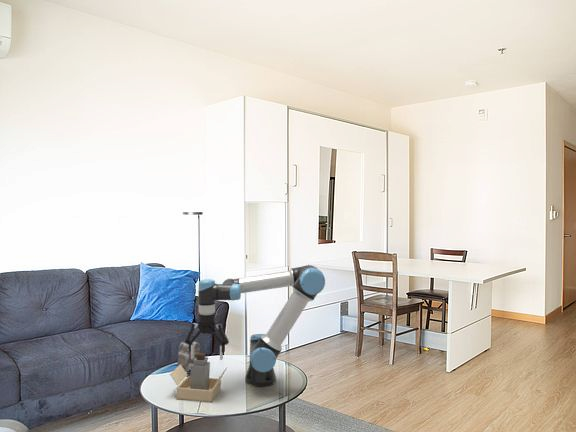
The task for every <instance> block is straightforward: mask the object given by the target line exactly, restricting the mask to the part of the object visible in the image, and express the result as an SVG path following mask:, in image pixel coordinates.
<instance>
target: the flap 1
mask: <svg viewBox="0 0 576 432" xmlns="http://www.w3.org/2000/svg"><path fill="white" fill-rule="evenodd" d="M169 375H170V377H171V379H172V380H173V381H174V383H175V385H177V386H179V385H180V384H181V383H182V382H183V381H184V380H185V379H186V378H187V377H188V373H187V371H185V370H184V369H183V367H182V366H181V365H179V366H178V367H177V366H176V368H175V369H174V370H173V371H172V372H170V373H169Z"/></svg>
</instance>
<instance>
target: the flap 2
mask: <svg viewBox="0 0 576 432" xmlns="http://www.w3.org/2000/svg"><path fill="white" fill-rule="evenodd" d="M227 369H228V367H226V368H225V370H224V371H222V372H221V374H220V376H219V377H218V378H217V379H218V380H217V382H216V383H215V385H216V384H217V383H218V381H219V380H220V379H221V380H222V377H223V375H224V374H225V373H226V371H227ZM215 385H214V386H213V388H214V387H215Z"/></svg>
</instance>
